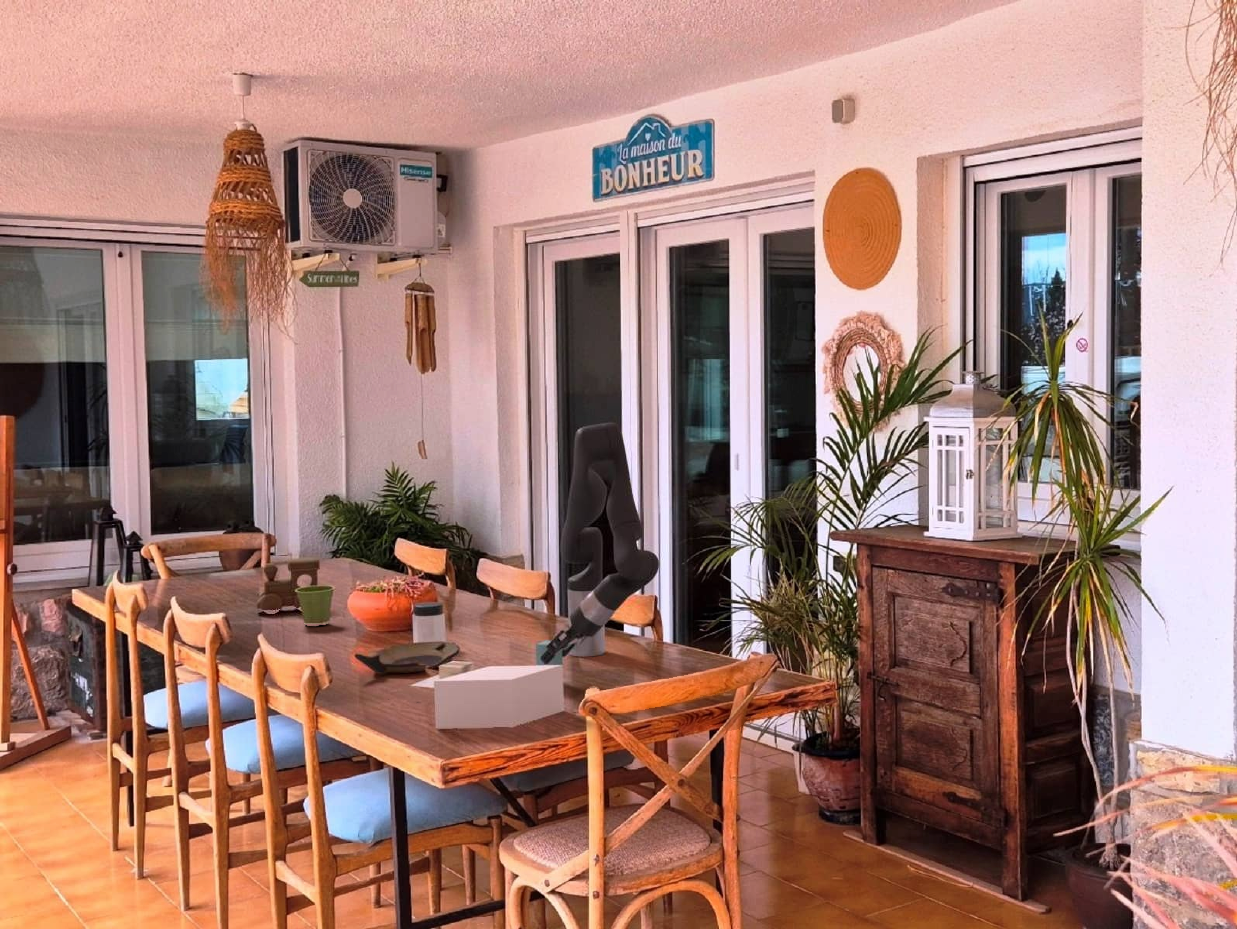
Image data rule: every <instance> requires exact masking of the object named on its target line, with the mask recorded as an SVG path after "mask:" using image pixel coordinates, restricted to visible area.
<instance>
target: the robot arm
mask: <svg viewBox="0 0 1237 929" xmlns="http://www.w3.org/2000/svg"><path fill="white" fill-rule="evenodd" d="M622 434H623V433H622V432H621V429H620V427H619V426H618V424H616V423H615V422H605V423H604V422H603V423H598V424H593V425H586V426H582V427H580V428H579V429H578V430H577V431H576V432H575V436H574V443H573V444H574V445H573V446H574V447H573V468H572V475H571V476H572V477H571V482H570V488H569V494H568V500H567V510H566V511H567V513H566V518H565V522H564V524H563V525H564V526H563V528H562V534H561V537H560V556H561V558H562V559H563V561H564V562H565V563H567V564H588V566H587V567H586V568H585V569H584V570H583V571H581V572H580V573H577V574H575V575H572V576H570V577H568V579H567V584H566V585H567V608H568V612H567V613H568V626H566V627H565V628H564V629H562V630H560V631H559V632H558V634H557V635H556V636H554V638H552V640H550V641H551V642H550V643H549V644H548V645H547V646H546V647H547V649H548V650H547V651H546V652H545V653H544V654H543V655H542V656H541V660H542V661H543V663H544V664H548V663H549V662H550V661H551V660H552V659H553V658H554V657H555V656H556V654H558V653H559V652H560V651H561V650H562V658H565V657H566V656H567V655H570V656H573V657H582V658H583V657H584V658H585V657H597V656H601V655H603V654H605V651H606V640H605V639H606V634H605V630H606V629H605V625H606V624H607V623H608V622H609V621H610V620H611V618H612V617H613V616H614V614H615V613H616V611H617V610H619V608H620V607H621V606H622V605H624V603H625V601H627V599H628V598H629V597H631V596H632V595H635V594H636V593H637V592H638V591H640V590H641V589H643V588H644V587H645V586H647V585H648V584H649V583H650V582H652V581H653V579H654V578H655V577H656V575H657V574H658V571H659V568H660V560H659V559H658V556H657V555H656V554H655V553H654V552H652V551H650V550H646V549H639V548H638V542H637V541H640V540H641V539H642V537H643V535H644V531H643V524H642V523H641V519H640V515H639V512H638V510H637V506H636V502H635V497H634V493H633V488H632V483H631V482H632V481H631V474H630V469H629V463H628V457H627V452H626V447H625V446H626V445H625V442H624V438H623V435H622ZM608 462H612V464H613V468H614V469H613V470H614V476H613V481H612V485H611V489H610V491H609V494H608V490H607V485H606V484H605V483H606V482H605V481H604V480H603V479H602V477H600V475H599V474H598V473H597V472H596V471H594V469H592V468H591V467H592V466H594V465H598V464H604V463H608ZM607 495H608V497H607ZM606 500H607V502H606ZM605 506H606V516H607V519H608V520H607V521H608V522H609V528H610V531H611V534H612V536H613V557H614V558H613V560H614V565H615V569H616V570H617V572H616V573H611V574H608V575H607V576H605V578H604V579H603V552H604V551H603V550H604V548H603V547H604V546H603V545H604V543H603V542H604V541H603V534H602V532H601V529H599V527H588V526H590V525H591V524H593V523H594V522H595V521H596V520H597V519H598V518H599V517H600V516H601V515H602V513H603V511H604V509H605ZM554 645H557V648H555V646H554Z"/></svg>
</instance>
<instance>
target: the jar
mask: <svg viewBox="0 0 1237 929" xmlns="http://www.w3.org/2000/svg"><path fill="white" fill-rule="evenodd" d="M412 606H413V607H412V608H413V614H412V635H413V636H412V637H413V640H412V641H413V643H418V642H439V641H442V642H446V641H447V640H446V637H447V636H446V616H445V615H446V614H445V613H444V603H443V602H439V601H424V602H418V603H414V604H413V605H412Z"/></svg>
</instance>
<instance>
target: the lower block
mask: <svg viewBox="0 0 1237 929" xmlns="http://www.w3.org/2000/svg"><path fill="white" fill-rule="evenodd" d="M474 670H475V662H472V661H471V662H470V661H460V660H459V661H458V660H451V661H448V662H446V663H444V664H442V665H440V666H438V672H439V673H438V675H439V680H440V679H444V678H447V677H451V676H455V675H459V674H462V673H466V672H470V671H474Z"/></svg>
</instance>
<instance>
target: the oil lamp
mask: <svg viewBox="0 0 1237 929" xmlns="http://www.w3.org/2000/svg"><path fill="white" fill-rule="evenodd" d="M441 649H442V650H441ZM460 649H461V648H460V646H459V645H457V644H456V643H455V642H448V641H447V642H442V641H439V642H418V643H414V642H411V643H410V642H409V643H403V644H398V645H397V644H395V645H391V646H390V647H385V648H382V649H380V650H378V651H375V652H370V653H368V654H367V655H364V654H362V653H358V652H357V653H355V654H354V657H355V658H354V659H356V660H358V661H359V662H360V663H362V664H363V665H365V666H366V667H368V668H369V669H370V670H371V671H373V673H375V674H379V675H383V674H385V673H391V674H394V673H395V674H396V673H397V674H409V673H419V672H425V671H426V670H433V669H436V668H439V666H440V665H443V664H446V663H448V662H450V660H451V661H452V659H453V658H455V657H456V656H458V654H459V653H460Z"/></svg>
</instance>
